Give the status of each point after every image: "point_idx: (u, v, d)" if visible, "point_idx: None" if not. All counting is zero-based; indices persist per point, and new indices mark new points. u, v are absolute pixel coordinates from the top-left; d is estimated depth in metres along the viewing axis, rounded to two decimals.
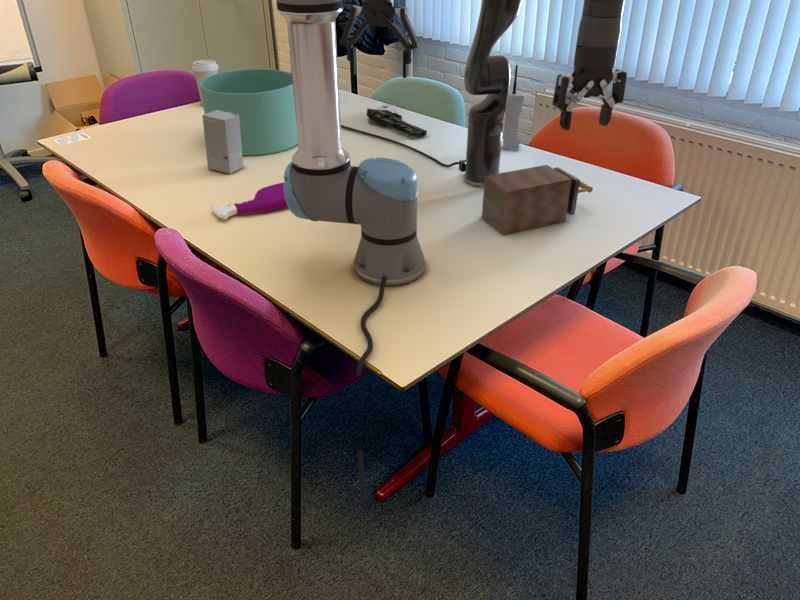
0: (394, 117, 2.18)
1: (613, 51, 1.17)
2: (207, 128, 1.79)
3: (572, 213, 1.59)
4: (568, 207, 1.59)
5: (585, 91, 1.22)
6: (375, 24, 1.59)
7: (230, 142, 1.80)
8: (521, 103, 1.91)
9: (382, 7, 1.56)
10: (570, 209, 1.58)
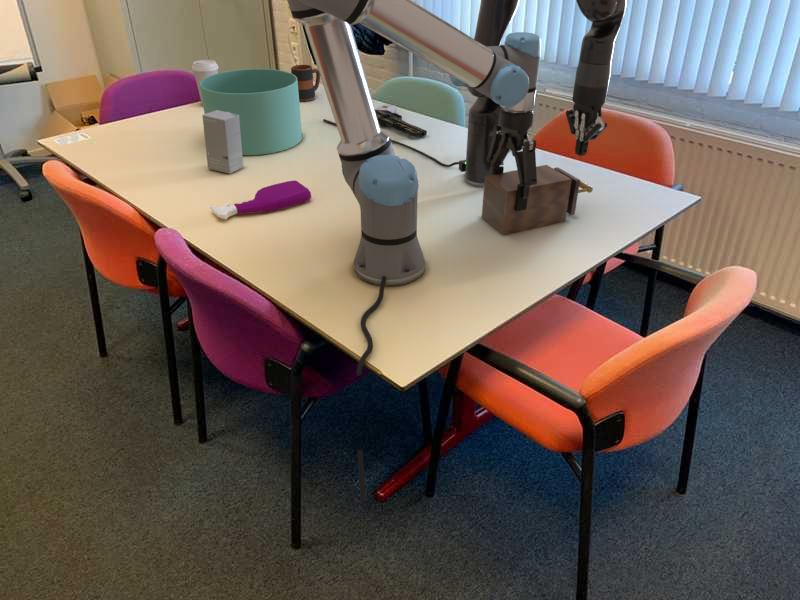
0: (394, 117, 2.18)
1: (582, 90, 1.45)
2: (207, 128, 1.79)
3: (572, 213, 1.59)
4: (568, 207, 1.59)
5: (574, 117, 1.52)
6: (507, 146, 1.47)
7: (230, 142, 1.80)
8: None
9: (513, 132, 1.43)
10: (570, 209, 1.58)
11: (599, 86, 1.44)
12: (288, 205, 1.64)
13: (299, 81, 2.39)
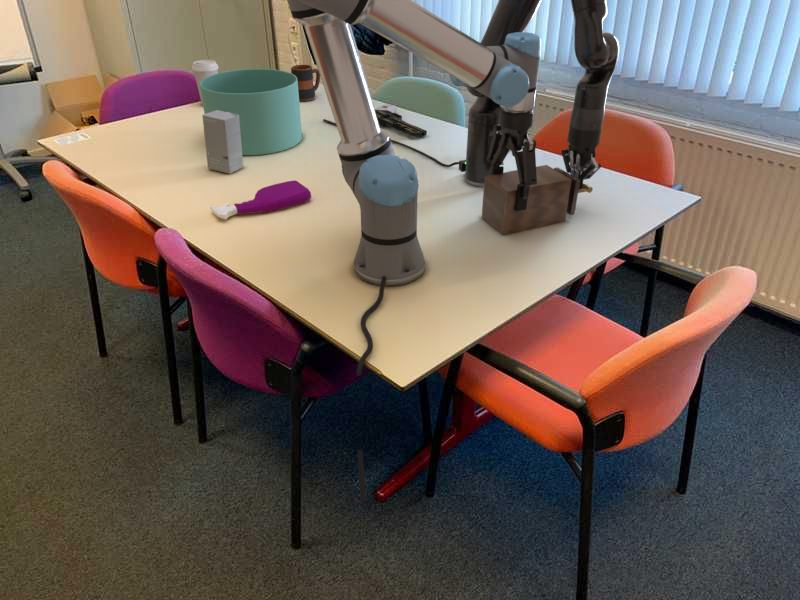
0: (394, 117, 2.18)
1: (576, 133, 1.51)
2: (207, 128, 1.79)
3: (572, 213, 1.59)
4: (568, 207, 1.59)
5: (569, 157, 1.58)
6: (507, 146, 1.47)
7: (230, 142, 1.80)
8: None
9: (513, 132, 1.43)
10: (570, 209, 1.58)
11: (593, 129, 1.49)
12: (288, 205, 1.64)
13: (299, 81, 2.39)
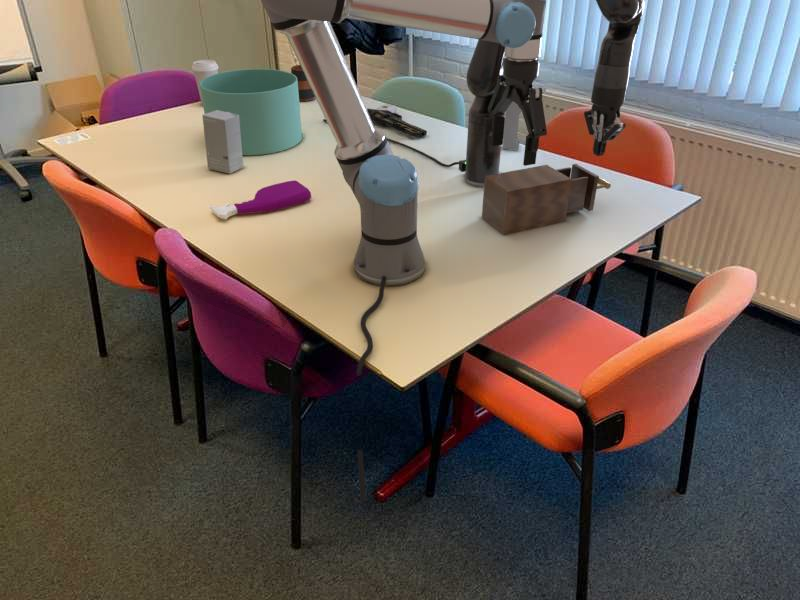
0: (394, 117, 2.18)
1: (601, 91, 1.48)
2: (207, 128, 1.79)
3: (590, 209, 1.61)
4: (586, 203, 1.61)
5: (592, 118, 1.55)
6: (512, 99, 1.41)
7: (230, 142, 1.80)
8: None
9: (518, 83, 1.38)
10: (588, 205, 1.60)
11: (618, 87, 1.46)
12: (288, 205, 1.64)
13: (299, 81, 2.39)
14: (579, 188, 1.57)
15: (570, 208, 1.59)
